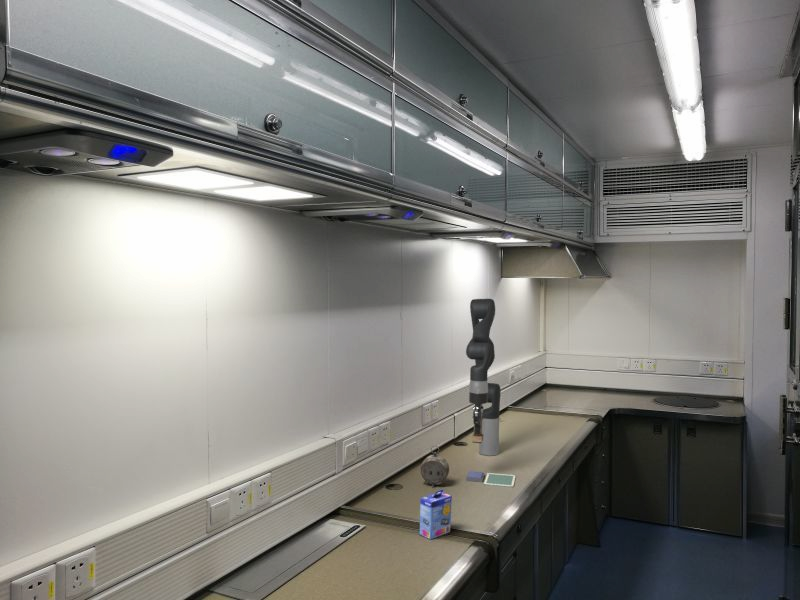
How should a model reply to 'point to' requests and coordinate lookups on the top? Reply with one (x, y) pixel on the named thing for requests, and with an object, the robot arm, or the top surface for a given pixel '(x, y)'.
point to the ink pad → (475, 476)
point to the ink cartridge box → (435, 514)
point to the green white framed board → (499, 480)
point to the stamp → (478, 435)
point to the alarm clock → (434, 469)
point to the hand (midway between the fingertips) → (477, 432)
